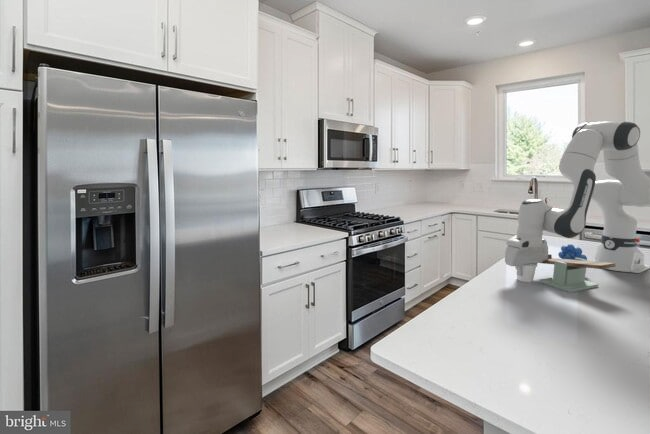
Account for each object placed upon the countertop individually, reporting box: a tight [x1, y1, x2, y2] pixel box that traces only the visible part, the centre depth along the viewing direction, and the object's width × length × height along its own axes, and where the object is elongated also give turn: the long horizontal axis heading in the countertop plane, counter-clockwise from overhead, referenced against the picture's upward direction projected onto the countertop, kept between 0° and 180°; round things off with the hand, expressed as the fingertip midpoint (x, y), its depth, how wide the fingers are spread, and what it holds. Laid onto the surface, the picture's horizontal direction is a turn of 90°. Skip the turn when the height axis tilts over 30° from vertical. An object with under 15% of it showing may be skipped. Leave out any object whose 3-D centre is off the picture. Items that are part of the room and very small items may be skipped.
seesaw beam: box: [538, 253, 616, 270], centre depth 136 cm, size 26×10×4 cm, turn 22°
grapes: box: [557, 243, 588, 261], centre depth 152 cm, size 12×7×12 cm, turn 25°
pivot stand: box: [539, 258, 599, 293], centre depth 137 cm, size 16×12×10 cm
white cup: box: [516, 263, 537, 283], centre depth 142 cm, size 7×7×7 cm
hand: (525, 274), depth 142 cm, fingers closed on white cup, 5 cm apart
